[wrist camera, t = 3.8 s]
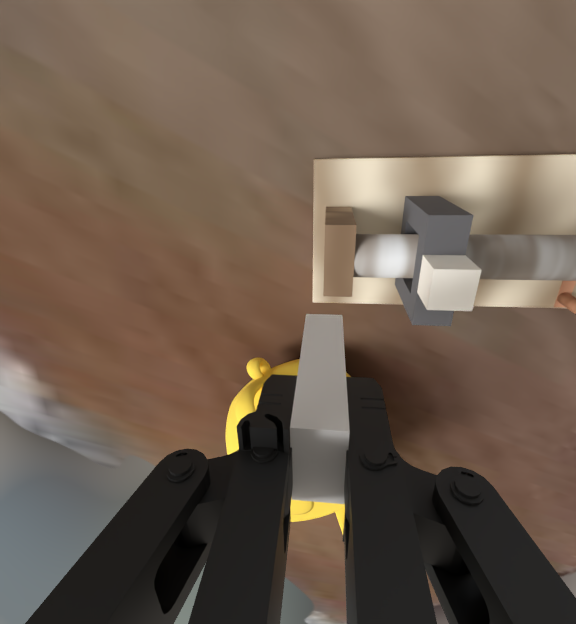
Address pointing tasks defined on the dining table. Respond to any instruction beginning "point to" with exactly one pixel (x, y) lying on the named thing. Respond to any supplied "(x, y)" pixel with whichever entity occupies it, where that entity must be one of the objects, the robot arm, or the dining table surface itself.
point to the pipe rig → (465, 194)
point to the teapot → (248, 404)
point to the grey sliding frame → (438, 261)
